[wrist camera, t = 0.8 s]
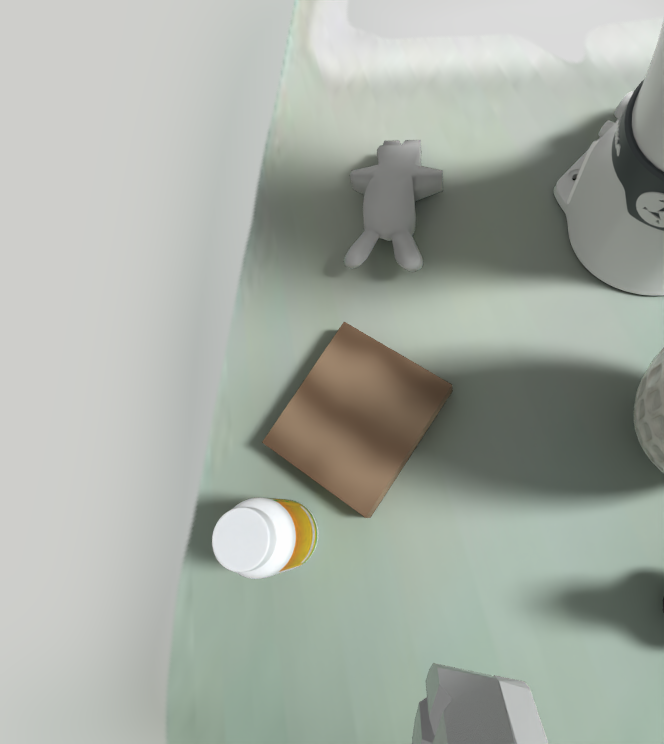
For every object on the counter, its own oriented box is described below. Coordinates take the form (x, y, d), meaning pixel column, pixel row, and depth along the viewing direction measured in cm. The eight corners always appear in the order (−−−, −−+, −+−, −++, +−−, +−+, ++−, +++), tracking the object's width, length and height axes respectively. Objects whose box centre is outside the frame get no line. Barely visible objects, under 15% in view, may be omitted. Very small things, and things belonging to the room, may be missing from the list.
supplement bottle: (305, 489, 50) (263, 482, 39) (329, 554, 48) (292, 564, 37) (247, 515, 51) (191, 514, 40) (268, 579, 49) (215, 597, 38)
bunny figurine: (447, 127, 52) (428, 254, 47) (448, 164, 57) (430, 284, 52) (355, 129, 55) (328, 250, 50) (363, 164, 59) (338, 279, 54)
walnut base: (349, 330, 53) (344, 321, 51) (452, 390, 49) (452, 384, 47) (271, 445, 52) (262, 442, 50) (370, 517, 48) (365, 517, 46)
